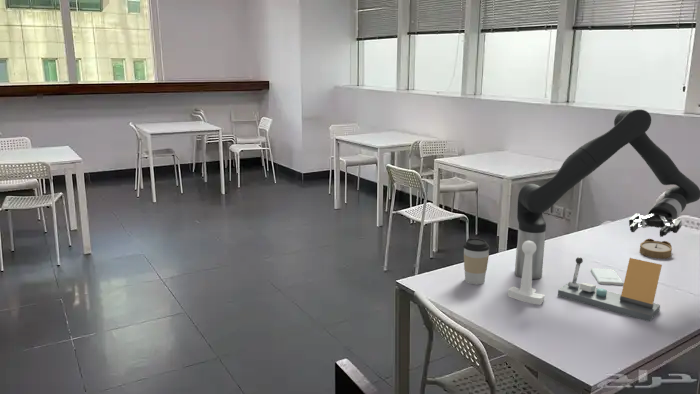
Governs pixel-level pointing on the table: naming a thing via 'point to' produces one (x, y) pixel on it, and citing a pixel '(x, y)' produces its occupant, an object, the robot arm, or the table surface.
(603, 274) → the external hard drive
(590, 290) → the block
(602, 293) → the push button
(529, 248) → the joystick
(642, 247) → the alarm clock
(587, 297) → the panel
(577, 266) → the toggle lever
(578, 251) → the table surface
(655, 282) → the tan flat slab
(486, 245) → the coffee cup
